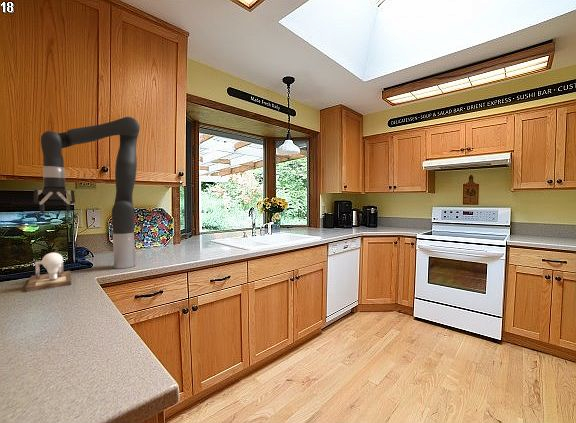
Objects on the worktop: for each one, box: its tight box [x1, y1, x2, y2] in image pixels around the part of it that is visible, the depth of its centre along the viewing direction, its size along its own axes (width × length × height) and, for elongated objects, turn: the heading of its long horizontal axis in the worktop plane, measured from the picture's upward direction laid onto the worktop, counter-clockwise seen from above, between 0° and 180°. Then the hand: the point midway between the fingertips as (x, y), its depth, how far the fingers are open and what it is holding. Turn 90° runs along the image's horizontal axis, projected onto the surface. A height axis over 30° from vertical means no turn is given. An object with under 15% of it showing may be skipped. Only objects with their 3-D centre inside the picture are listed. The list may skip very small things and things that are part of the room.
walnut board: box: [25, 270, 72, 292], centre depth 112 cm, size 13×20×2 cm, turn 39°
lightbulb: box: [41, 252, 64, 280], centre depth 108 cm, size 6×6×11 cm
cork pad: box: [35, 276, 66, 286], centre depth 108 cm, size 9×7×1 cm
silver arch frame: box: [34, 256, 65, 279], centre depth 115 cm, size 9×9×7 cm
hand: (55, 212), depth 123 cm, fingers open, 8 cm apart
